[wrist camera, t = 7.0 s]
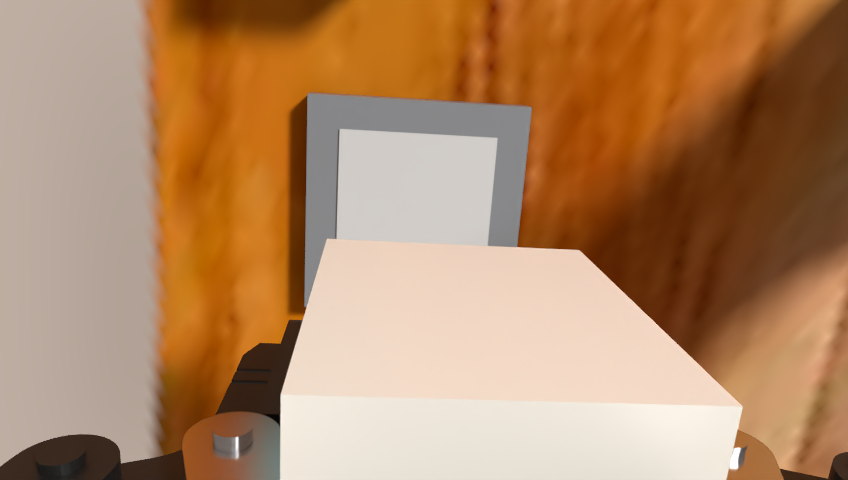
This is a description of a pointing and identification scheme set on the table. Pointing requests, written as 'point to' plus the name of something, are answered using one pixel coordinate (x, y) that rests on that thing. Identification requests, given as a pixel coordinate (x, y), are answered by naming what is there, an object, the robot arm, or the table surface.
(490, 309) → the cream brick
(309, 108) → the baseplate
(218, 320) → the table surface
